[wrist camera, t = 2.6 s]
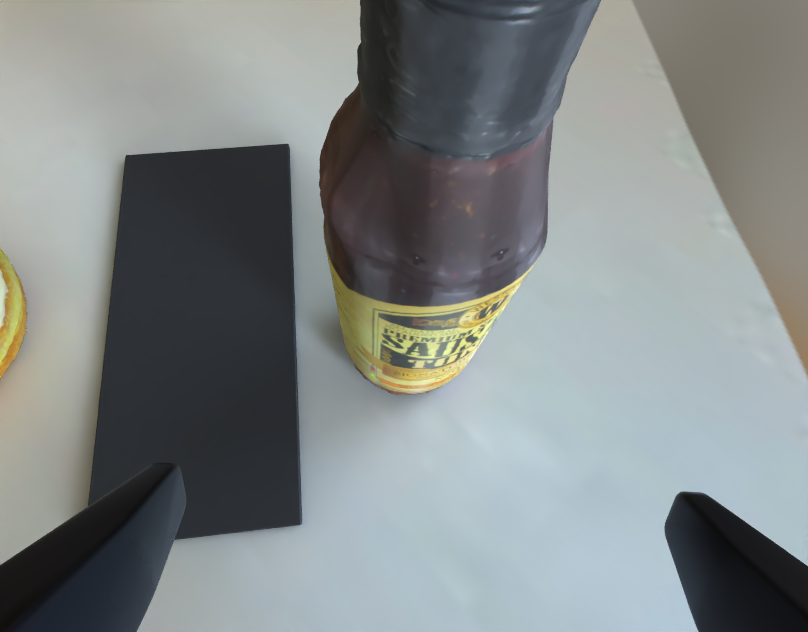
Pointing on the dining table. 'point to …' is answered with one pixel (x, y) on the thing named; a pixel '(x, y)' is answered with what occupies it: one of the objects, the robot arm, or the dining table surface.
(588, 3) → the sauce bottle
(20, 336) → the decorated donut
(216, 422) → the mat
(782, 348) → the dining table surface
